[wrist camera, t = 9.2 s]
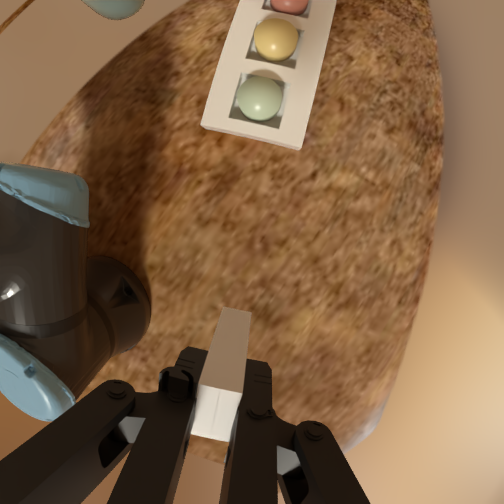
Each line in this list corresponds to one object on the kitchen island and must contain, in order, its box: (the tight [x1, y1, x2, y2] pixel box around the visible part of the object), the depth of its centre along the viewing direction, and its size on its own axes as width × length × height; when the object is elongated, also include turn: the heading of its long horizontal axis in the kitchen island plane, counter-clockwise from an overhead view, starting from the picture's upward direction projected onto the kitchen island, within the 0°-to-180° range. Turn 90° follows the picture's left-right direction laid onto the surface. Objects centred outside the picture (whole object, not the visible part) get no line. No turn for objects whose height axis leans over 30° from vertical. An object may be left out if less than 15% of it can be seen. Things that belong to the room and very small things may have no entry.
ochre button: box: [254, 18, 298, 62], centre depth 29 cm, size 5×5×3 cm
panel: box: [201, 0, 337, 151], centre depth 32 cm, size 12×25×3 cm, turn 166°
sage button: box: [237, 76, 282, 122], centre depth 32 cm, size 5×5×3 cm
